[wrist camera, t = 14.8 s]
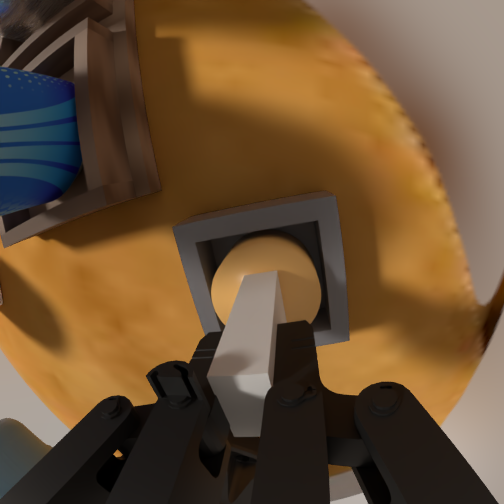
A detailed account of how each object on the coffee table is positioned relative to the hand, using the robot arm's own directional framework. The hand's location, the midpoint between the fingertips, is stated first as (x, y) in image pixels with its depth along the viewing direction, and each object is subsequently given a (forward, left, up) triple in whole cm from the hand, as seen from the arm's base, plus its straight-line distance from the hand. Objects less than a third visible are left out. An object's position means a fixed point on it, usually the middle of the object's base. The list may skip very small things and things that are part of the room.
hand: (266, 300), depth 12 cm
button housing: (0, 0, -4) cm, 4 cm away
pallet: (+19, +13, -4) cm, 23 cm away
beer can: (+12, +12, -3) cm, 17 cm away
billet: (+26, +13, -3) cm, 29 cm away
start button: (0, 0, -3) cm, 3 cm away
